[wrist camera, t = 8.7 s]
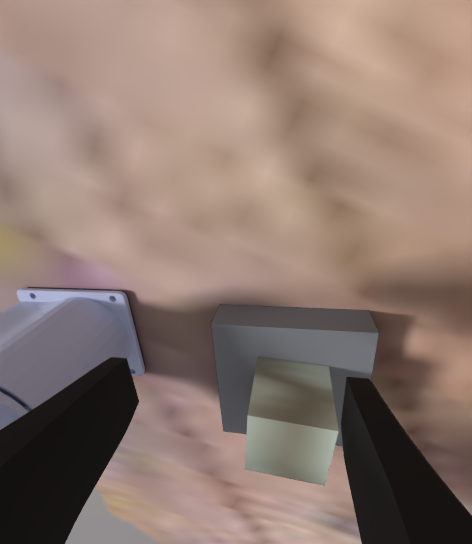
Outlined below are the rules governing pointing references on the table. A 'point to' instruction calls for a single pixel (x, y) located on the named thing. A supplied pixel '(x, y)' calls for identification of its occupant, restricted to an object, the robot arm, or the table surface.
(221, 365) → the grey base block
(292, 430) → the green cube
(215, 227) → the table surface
